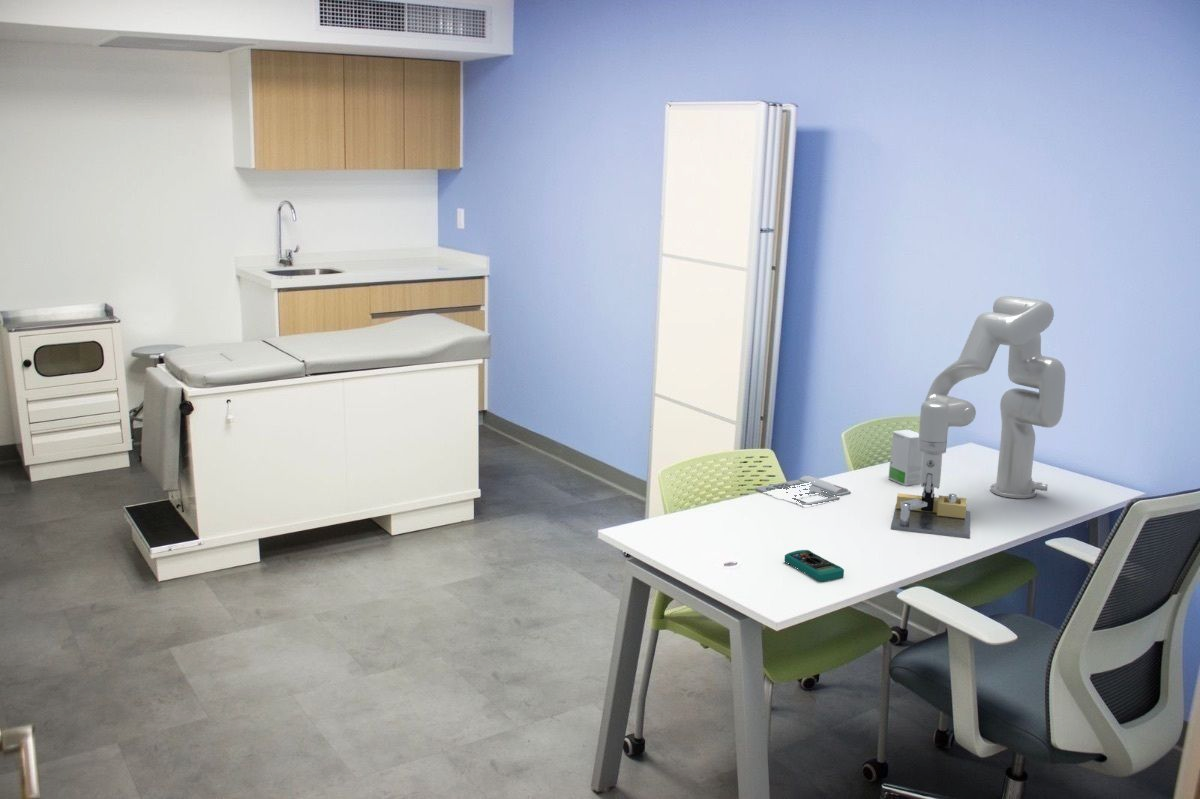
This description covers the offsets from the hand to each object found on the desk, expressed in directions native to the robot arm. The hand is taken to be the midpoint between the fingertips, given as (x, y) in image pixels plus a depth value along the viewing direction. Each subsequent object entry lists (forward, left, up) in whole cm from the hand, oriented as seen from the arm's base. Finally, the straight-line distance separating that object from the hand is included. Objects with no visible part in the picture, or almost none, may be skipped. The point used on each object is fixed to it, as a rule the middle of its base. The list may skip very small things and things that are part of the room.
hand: (927, 508), depth 293 cm
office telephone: (+35, -8, -3) cm, 36 cm away
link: (-1, 0, -1) cm, 1 cm away
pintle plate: (-1, +6, -2) cm, 7 cm away
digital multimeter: (+24, +52, -3) cm, 58 cm away
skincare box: (+8, -30, -2) cm, 31 cm away
